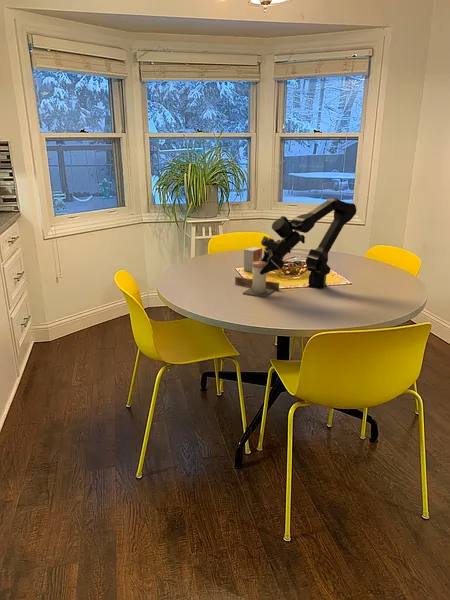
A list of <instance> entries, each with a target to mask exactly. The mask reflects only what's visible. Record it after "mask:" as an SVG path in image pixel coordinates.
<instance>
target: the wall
mask: <svg viewBox="0 0 450 600" xmlns="http://www.w3.org/2000/svg"><path fill="white" fill-rule="evenodd" d="M234 285H239V286H247V287H252V278H247V277H241V276H235V278H234ZM266 289H273V290H274V291H279V290H280V282H276V281H269V280H266Z"/></svg>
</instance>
